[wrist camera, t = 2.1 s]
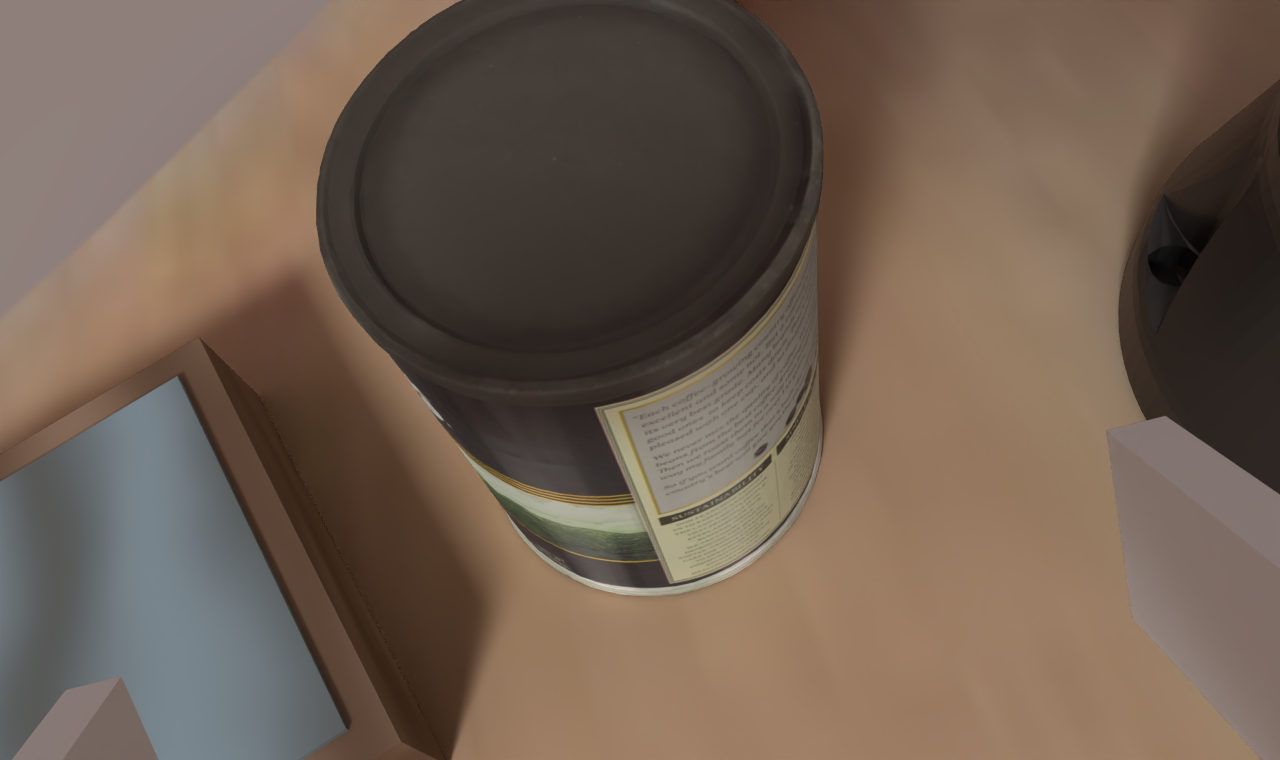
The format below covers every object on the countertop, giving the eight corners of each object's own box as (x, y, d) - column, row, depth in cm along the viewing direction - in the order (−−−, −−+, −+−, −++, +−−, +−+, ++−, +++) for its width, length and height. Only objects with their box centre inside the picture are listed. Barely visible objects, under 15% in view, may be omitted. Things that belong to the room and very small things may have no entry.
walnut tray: (257, 393, 39) (195, 333, 35) (448, 765, 32) (398, 740, 29) (-135, 630, 37) (-244, 593, 33) (-12, 1071, 31) (-129, 1086, 27)
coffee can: (501, 626, 34) (306, 432, 21) (485, 318, 39) (317, 12, 26) (857, 573, 33) (871, 339, 20) (796, 266, 38) (777, -78, 25)
